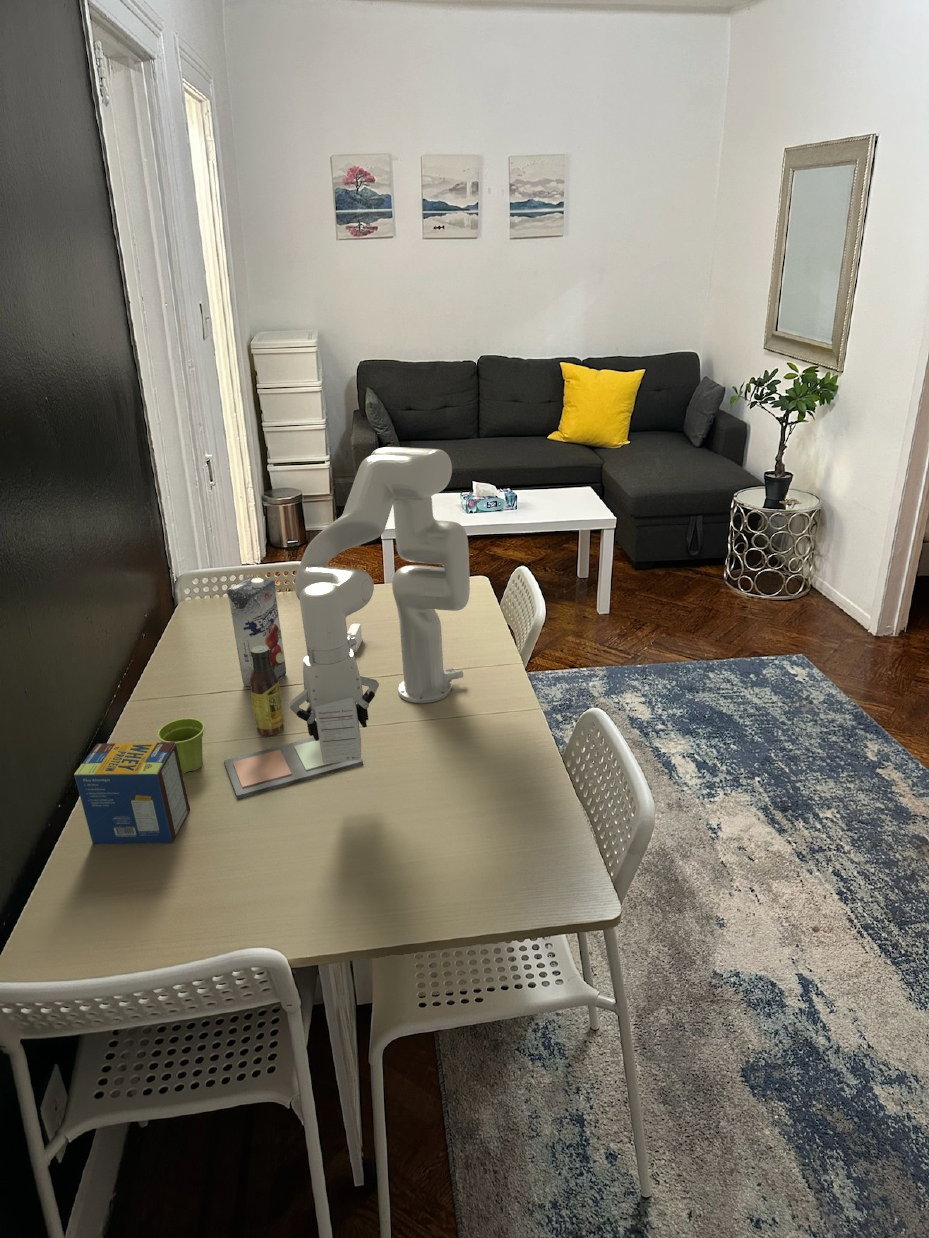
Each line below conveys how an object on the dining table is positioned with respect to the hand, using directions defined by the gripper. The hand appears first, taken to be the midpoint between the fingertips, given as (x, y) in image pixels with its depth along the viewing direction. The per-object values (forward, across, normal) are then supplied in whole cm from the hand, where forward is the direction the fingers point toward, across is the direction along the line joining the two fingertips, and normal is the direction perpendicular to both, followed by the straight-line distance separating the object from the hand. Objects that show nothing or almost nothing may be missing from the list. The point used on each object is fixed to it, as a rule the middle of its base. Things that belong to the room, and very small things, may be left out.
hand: (339, 730), depth 167 cm
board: (+15, +7, -16) cm, 23 cm away
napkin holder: (+18, -20, -62) cm, 68 cm away
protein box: (+15, +38, -9) cm, 42 cm away
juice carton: (+17, +4, -56) cm, 59 cm away
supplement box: (+5, 0, 0) cm, 5 cm away
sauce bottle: (+16, +8, -32) cm, 37 cm away
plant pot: (+15, +27, -26) cm, 40 cm away
